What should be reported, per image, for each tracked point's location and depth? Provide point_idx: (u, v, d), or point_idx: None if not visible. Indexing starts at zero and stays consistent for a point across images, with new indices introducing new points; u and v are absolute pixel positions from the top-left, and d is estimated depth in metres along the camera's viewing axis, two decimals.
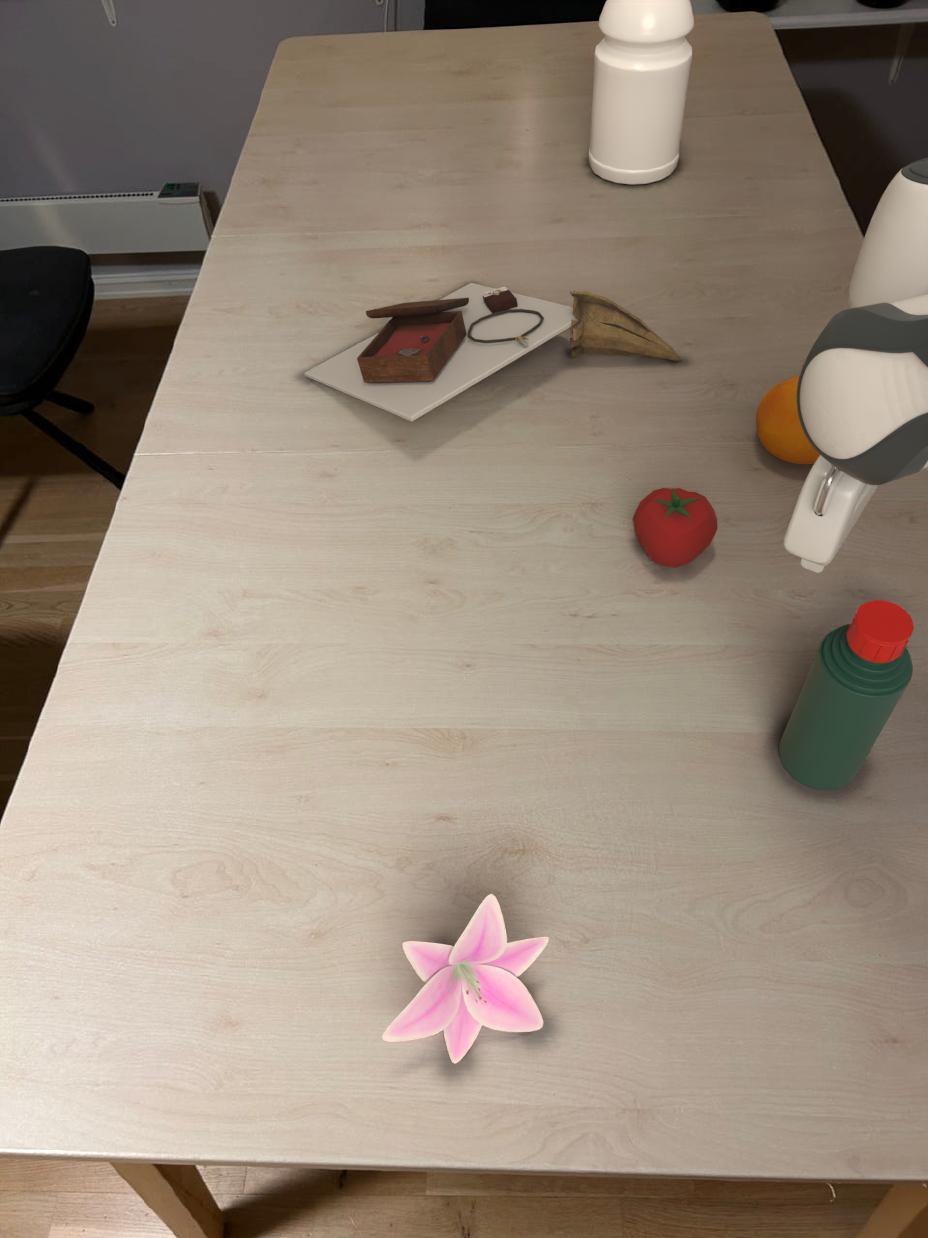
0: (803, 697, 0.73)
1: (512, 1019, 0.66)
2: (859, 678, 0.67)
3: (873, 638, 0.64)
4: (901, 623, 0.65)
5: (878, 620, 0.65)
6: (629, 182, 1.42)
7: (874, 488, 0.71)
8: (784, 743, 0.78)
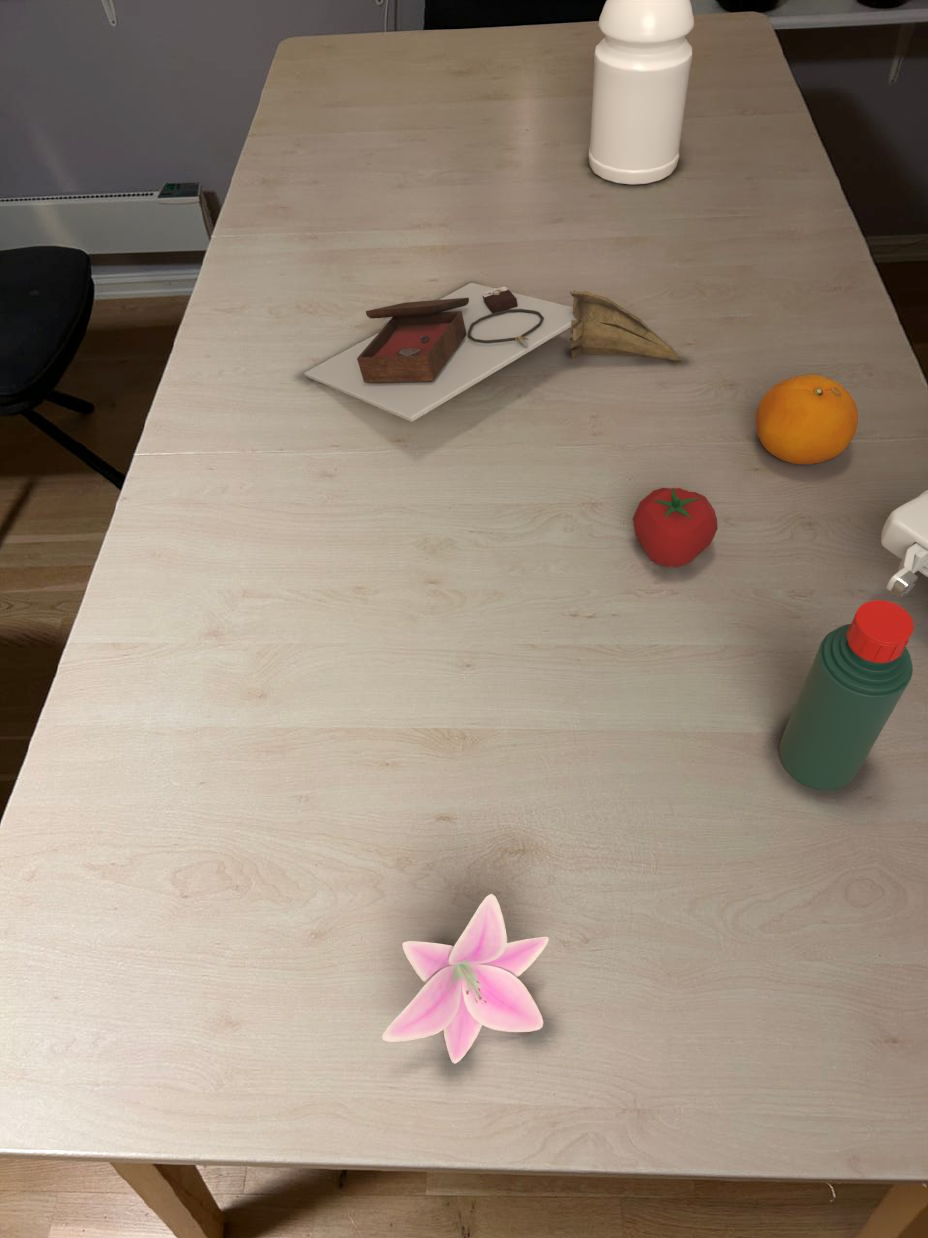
0: (803, 697, 0.73)
1: (512, 1019, 0.66)
2: (859, 678, 0.67)
3: (873, 638, 0.64)
4: (901, 623, 0.65)
5: (878, 620, 0.65)
6: (629, 182, 1.42)
7: None
8: (784, 743, 0.78)
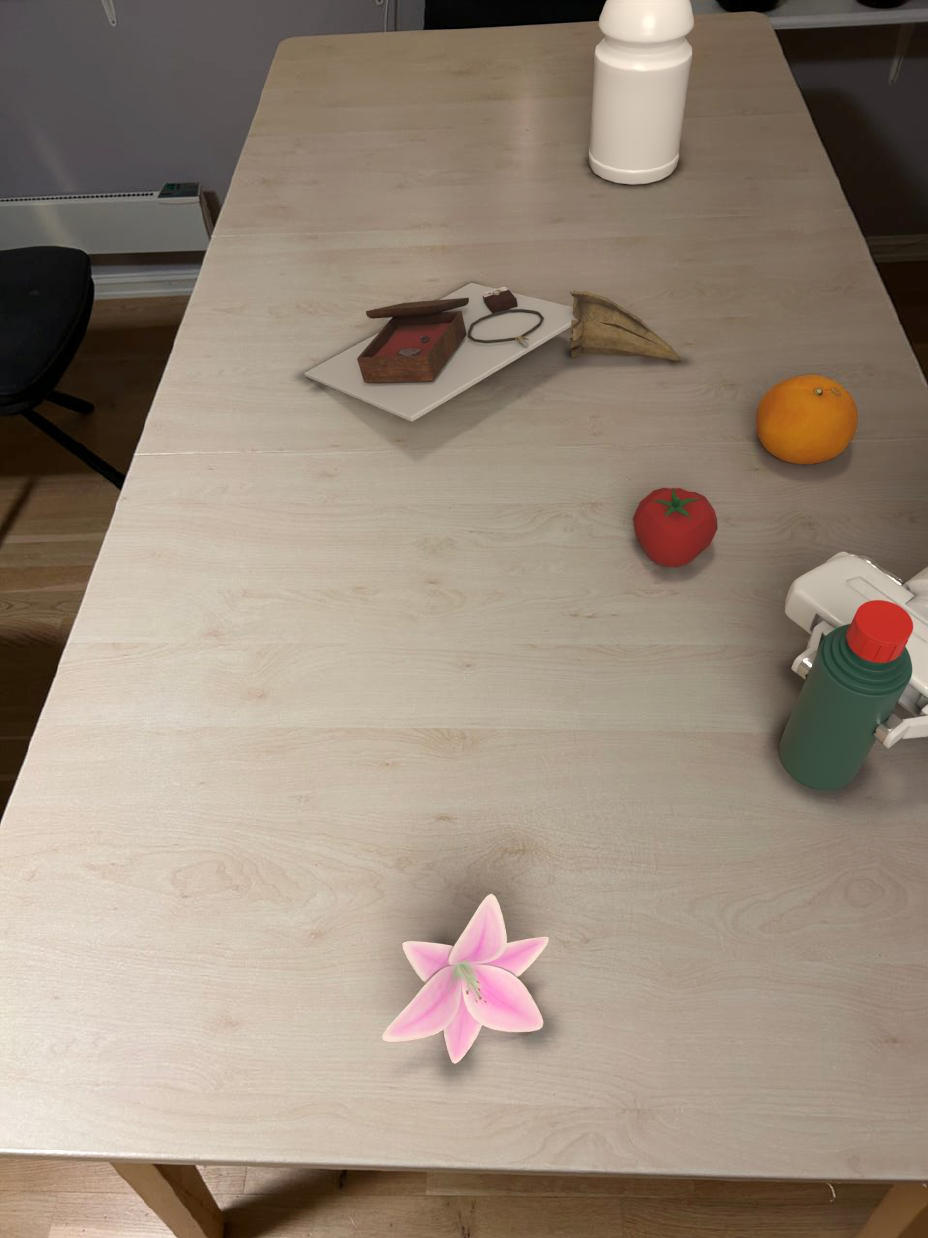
0: (803, 697, 0.73)
1: (512, 1019, 0.66)
2: (859, 678, 0.67)
3: (873, 638, 0.64)
4: (901, 623, 0.65)
5: (878, 620, 0.65)
6: (629, 182, 1.42)
7: None
8: (784, 743, 0.78)
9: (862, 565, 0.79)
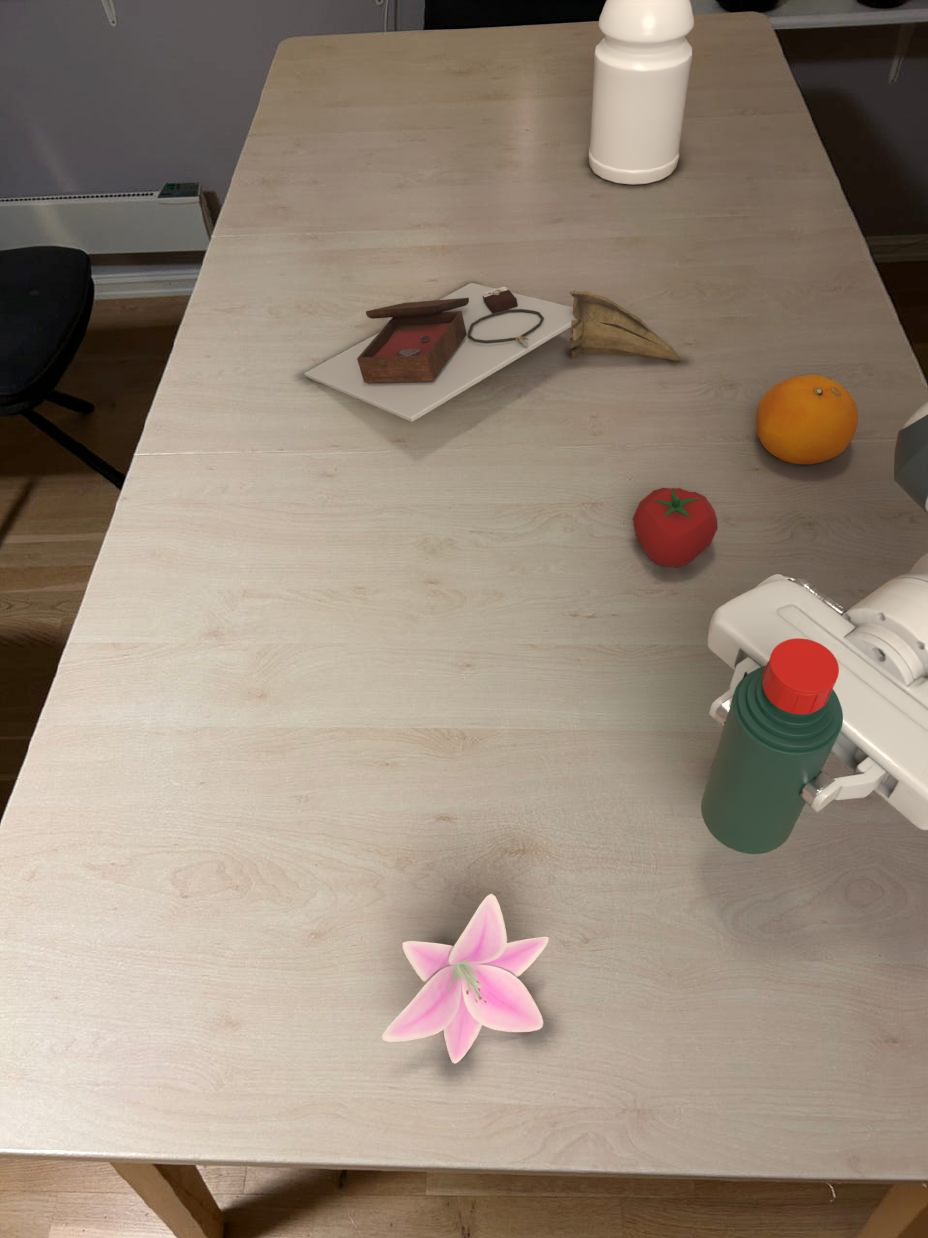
0: (720, 749, 0.62)
1: (512, 1019, 0.66)
2: (776, 732, 0.56)
3: (789, 686, 0.53)
4: (824, 667, 0.54)
5: (797, 663, 0.54)
6: (629, 182, 1.42)
7: None
8: (705, 798, 0.67)
9: (796, 591, 0.67)
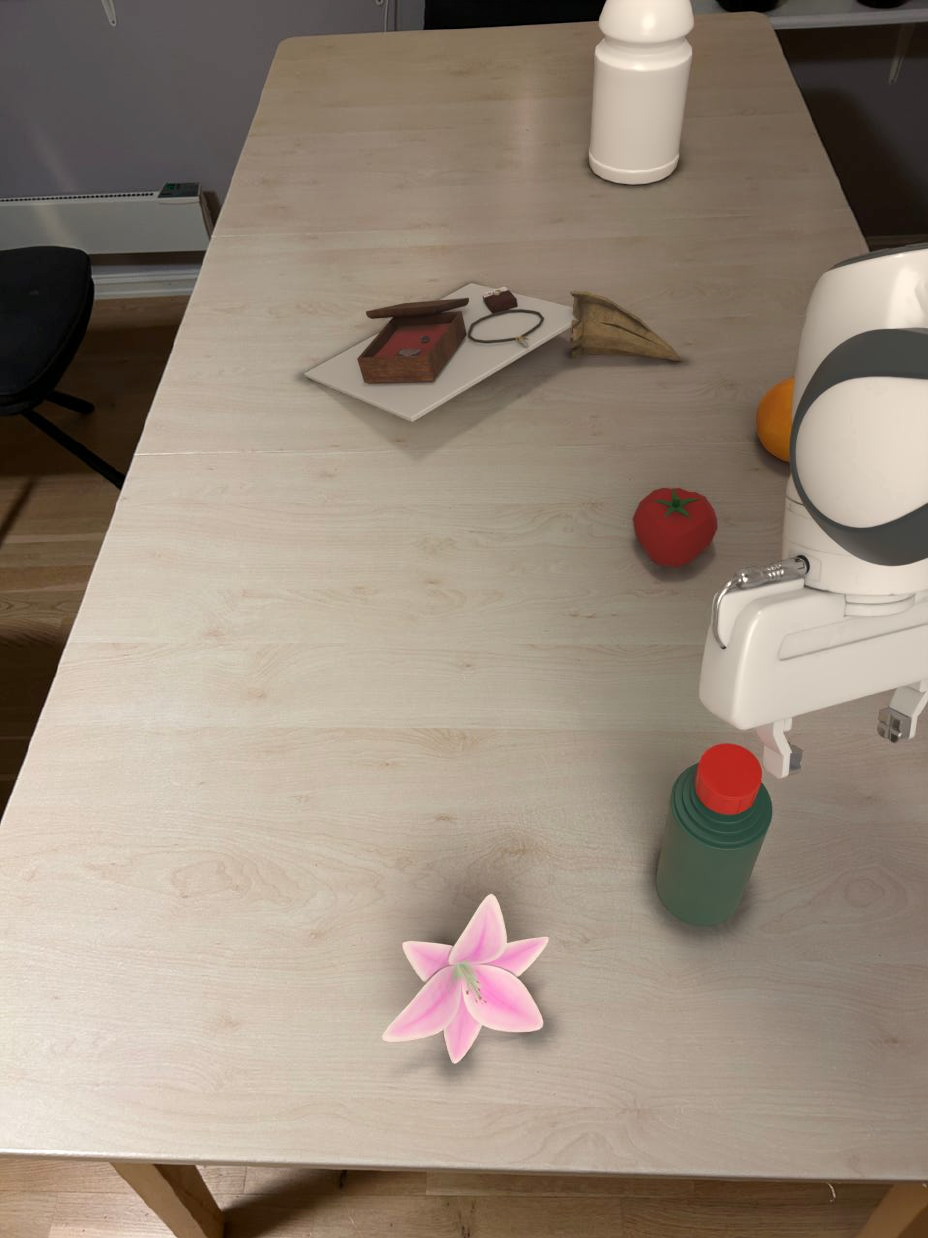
0: (664, 835, 0.66)
1: (512, 1019, 0.66)
2: (708, 829, 0.60)
3: (715, 792, 0.58)
4: (748, 772, 0.58)
5: (723, 769, 0.59)
6: (629, 182, 1.42)
7: (857, 678, 0.55)
8: (658, 874, 0.72)
9: (778, 621, 0.51)
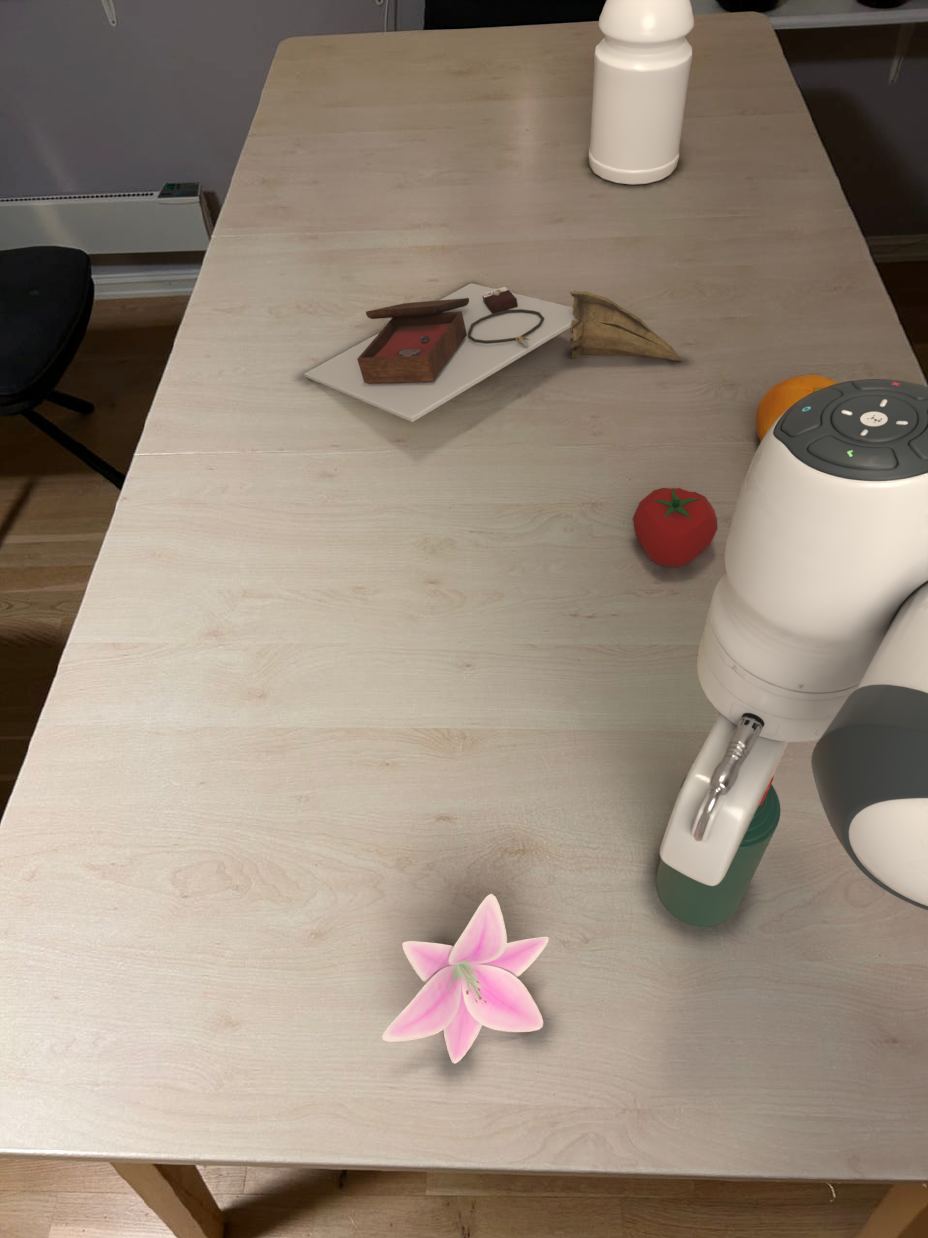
0: None
1: (512, 1019, 0.66)
2: None
3: None
4: None
5: None
6: (629, 182, 1.42)
7: (780, 759, 0.54)
8: (659, 874, 0.72)
9: (756, 804, 0.47)
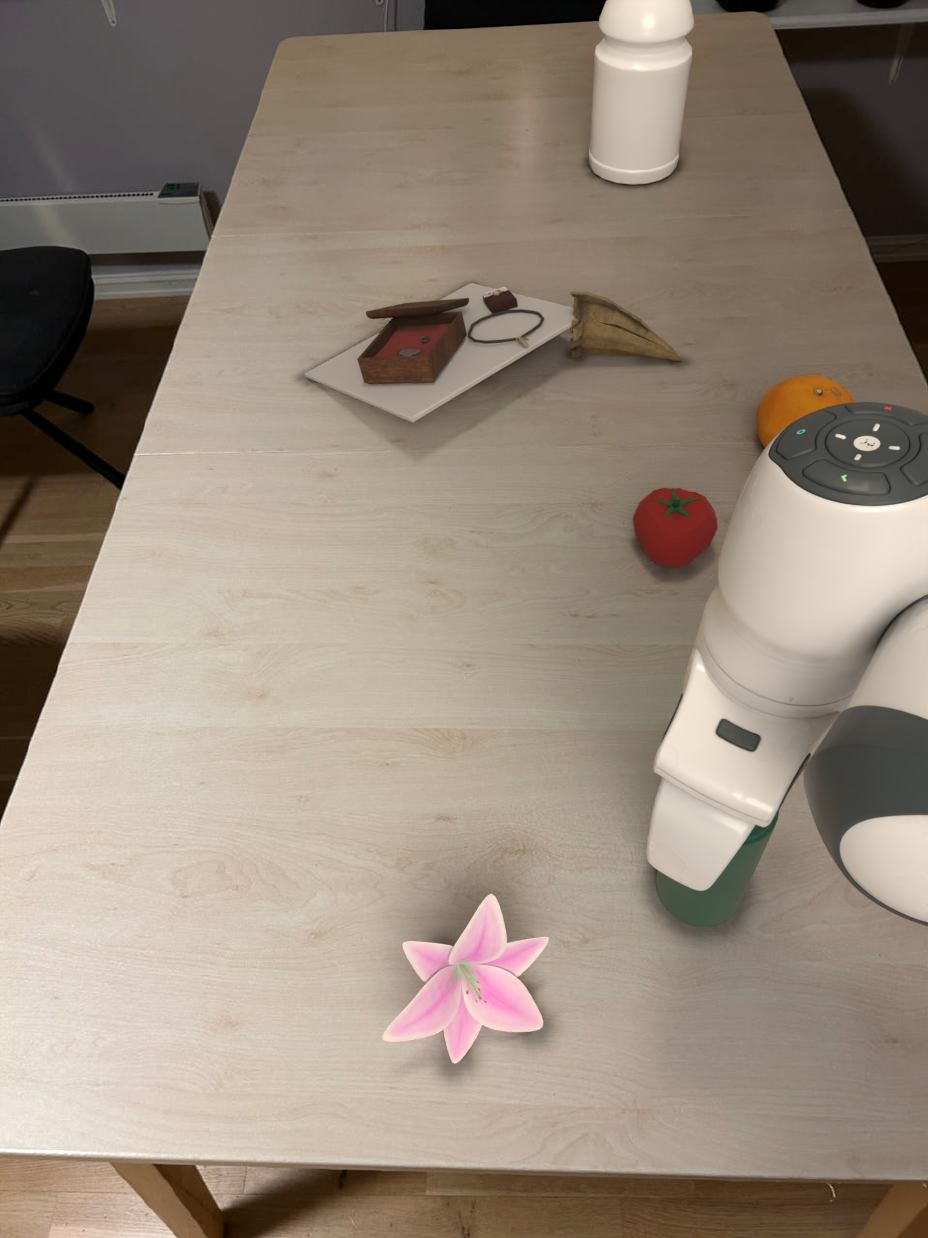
0: None
1: (512, 1019, 0.66)
2: None
3: None
4: None
5: None
6: (629, 182, 1.42)
7: None
8: (659, 874, 0.72)
9: None
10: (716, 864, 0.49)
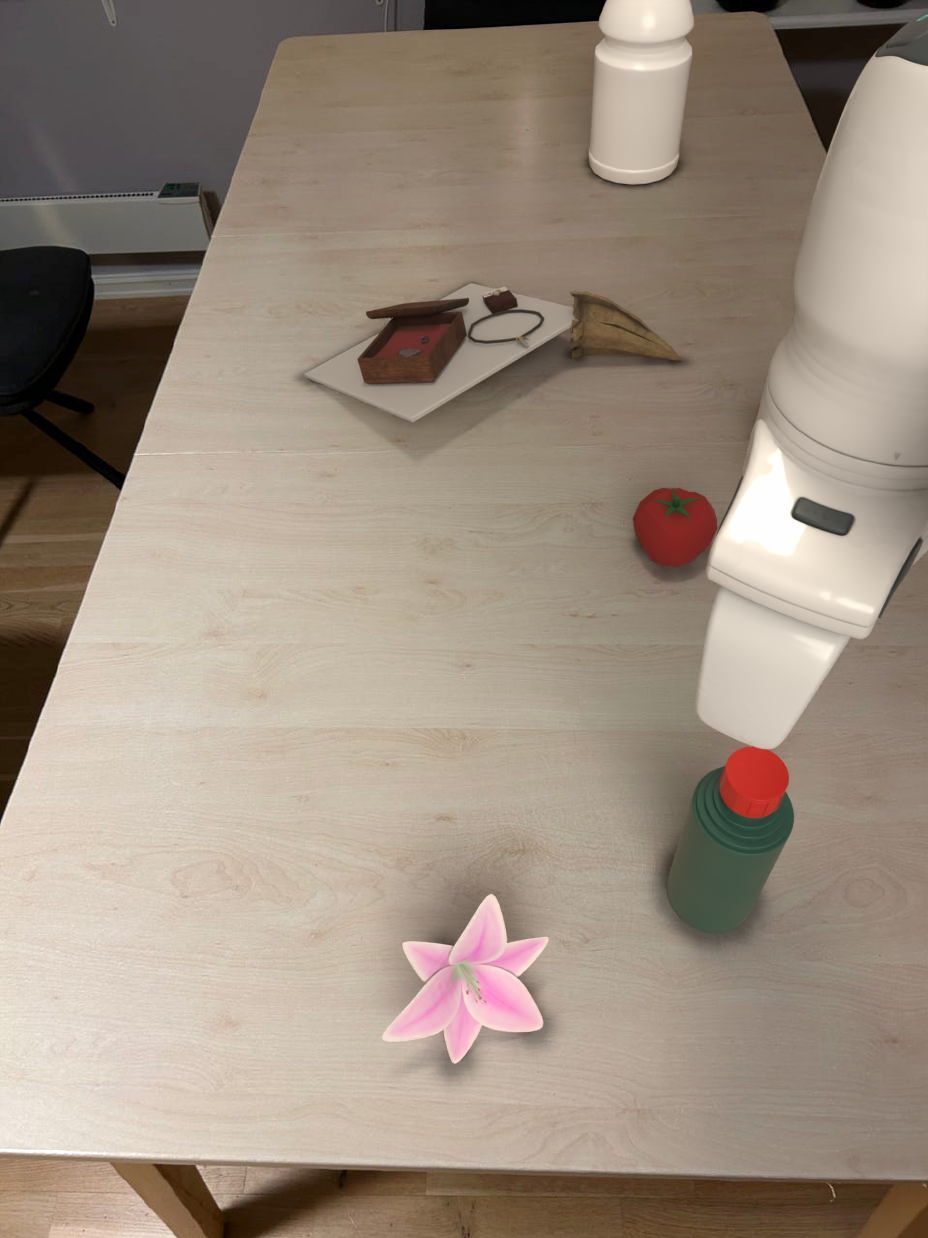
0: (682, 840, 0.66)
1: (512, 1019, 0.66)
2: (732, 834, 0.60)
3: (770, 751, 0.59)
4: (738, 769, 0.58)
5: (764, 773, 0.58)
6: (629, 182, 1.42)
7: None
8: (670, 880, 0.71)
9: None
10: (793, 702, 0.36)
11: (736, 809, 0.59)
